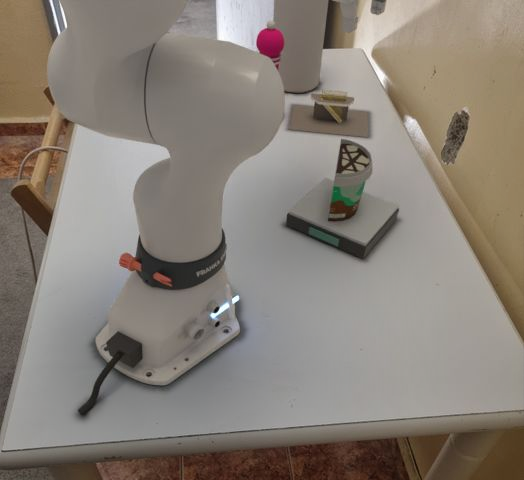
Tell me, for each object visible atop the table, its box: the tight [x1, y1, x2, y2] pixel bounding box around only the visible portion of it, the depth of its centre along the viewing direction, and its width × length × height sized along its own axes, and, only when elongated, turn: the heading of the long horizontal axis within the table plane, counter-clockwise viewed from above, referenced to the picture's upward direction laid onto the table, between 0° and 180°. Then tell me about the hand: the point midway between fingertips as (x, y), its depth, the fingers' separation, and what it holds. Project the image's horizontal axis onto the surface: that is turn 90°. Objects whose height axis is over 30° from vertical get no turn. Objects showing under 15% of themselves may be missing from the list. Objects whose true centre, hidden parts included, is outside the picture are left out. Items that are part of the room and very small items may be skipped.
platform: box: [288, 89, 369, 138], centre depth 119 cm, size 12×18×7 cm, turn 83°
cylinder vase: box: [272, 0, 329, 94], centre depth 124 cm, size 12×12×25 cm
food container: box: [328, 138, 374, 222], centre depth 91 cm, size 12×6×10 cm, turn 170°
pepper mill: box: [255, 19, 284, 70], centre depth 114 cm, size 7×7×20 cm
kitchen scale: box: [285, 177, 400, 260], centre depth 96 cm, size 14×16×3 cm
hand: (363, 21), depth 78 cm, fingers open, 8 cm apart
